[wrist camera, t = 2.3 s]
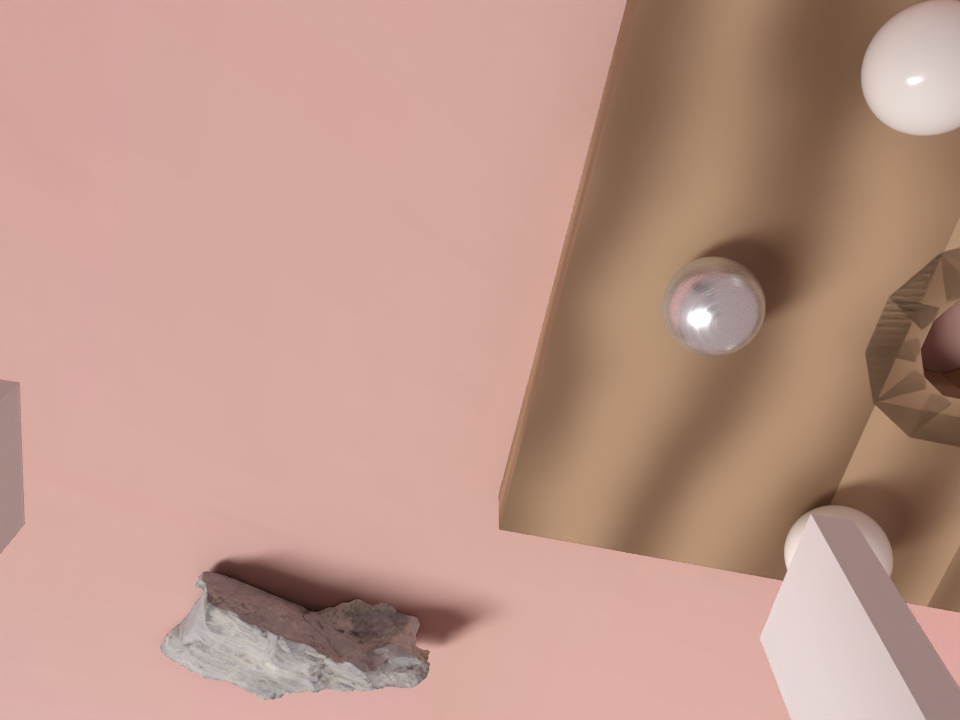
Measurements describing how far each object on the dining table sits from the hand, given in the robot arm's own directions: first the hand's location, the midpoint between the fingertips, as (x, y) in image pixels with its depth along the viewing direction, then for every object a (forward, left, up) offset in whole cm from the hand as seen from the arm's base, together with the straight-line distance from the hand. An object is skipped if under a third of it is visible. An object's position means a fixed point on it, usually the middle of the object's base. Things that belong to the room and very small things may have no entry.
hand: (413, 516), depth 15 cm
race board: (+15, -1, -21) cm, 26 cm away
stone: (-4, -22, -22) cm, 31 cm away
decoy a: (+13, +8, -17) cm, 23 cm away
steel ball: (+9, -1, -17) cm, 19 cm away
